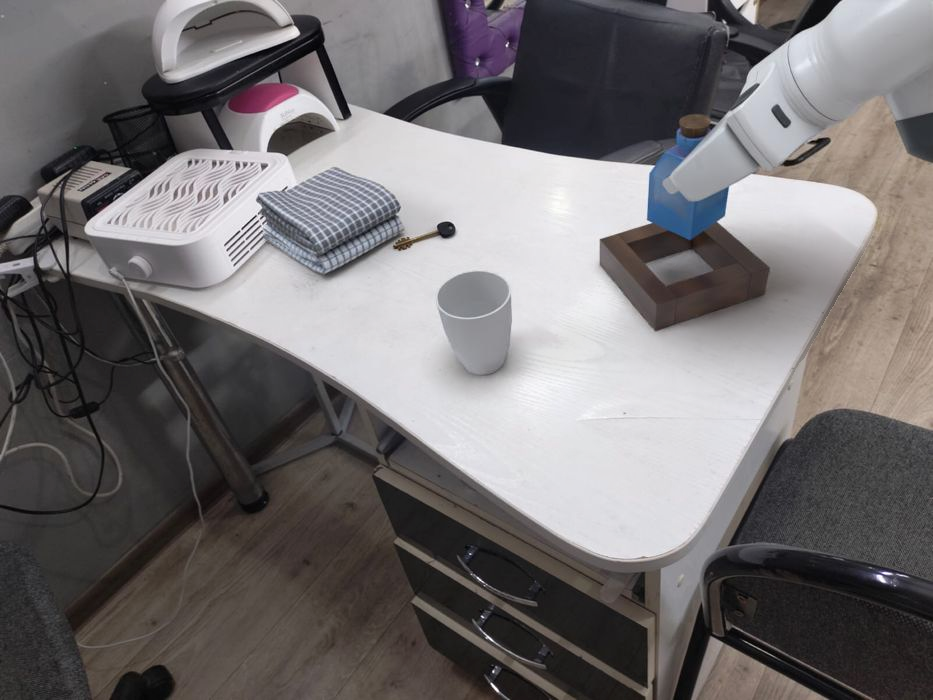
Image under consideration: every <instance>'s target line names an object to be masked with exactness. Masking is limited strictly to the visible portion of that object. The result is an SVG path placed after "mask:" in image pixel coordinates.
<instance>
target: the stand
mask: <svg viewBox="0 0 933 700" xmlns="http://www.w3.org/2000/svg"><path fill="white" fill-rule="evenodd" d="M689 249H692V250H693V251H694V252H695V253H696V254H697V255H698V256H699V257H700V258H701V259H702V260H703V261H705V262H706V264H708V265H709V266H710V267H711V268H712V269H713V270H711V271H708V272H705V273H702V274H700V275H697V276H693V277H690V278H687V279H684V280H680V281H677V282H675V283H671V284H667V285H665V284H664V283H663V282H662V281H661V279H660V278H659V277H658V276H657V275H656V274H655V273H654V272H653V271H652V270H651V269H650V267H649V266H648V265H647V264H646V263H648V262H651V261H655V260H659V259H661V258H664V257H667V256H670V255H674V254H677V253H680V252H683V251H687V250H689ZM599 265H600V267H601V268H602V269H603V270H604V271H605V273H606V274H607V275H608V276H609V277H610V279H611V280H612V281H613V282H614V284H616V286H617V287H618V288H619V290H620V291H621V292H622V293H623V295H624V296H625V297H626V298H627V299H628V300H629V302H630V303H631V304H632V305H633V307H634V308H635V310H637V311H638V312H639V314H640V315H641V316H642V318H643V319H644V320H645V321H646V323H648V325H649V326H650V327H651V328H652V330H653V331H656V332H657V331H659V330H661V329H664V328H668V327H671V326H674V325H677V324H680V323H683V322H685V321H688V320H691V319H695V318H699V317H701V316H704V315H707V314H710V313H713V312H716V311H719V310H722V309H725V308H728V307H732V306H734V305H737V304H740V303H743V302H746V301H749V300H752V299H755V298H758V297H761V296H764V295H765V294H766V290H767V284H768V280H769V275H770V271H771V267H770V266H769V265H767V263H765V262H764V261H763V260H762V259H761V258H759V257H758V256H757V255H756V254H755V253H753V251H752V250H750V249H749V248H748V247H747V246H746V245H745V244H744V243H742V242H741V241H740V240H739V239H738V238H736V236H734V235H733V234H732V233H731V232H730V231H729V230H727V229H726V228H725V227H724V226H723V225H722V224H721V223H719V222H718V221H717V222H716V223H714V224H713V225H711V226H710V227H708V228H707V229H705V230H704V231H703V232H701V233H700V234H698V235H697V236H695V237H694V238H692V239H691V240H689V239H686V238H684V237H682V236H680V235H678V234H676V233H673V232H671V231H669V230H667V229H665V228H663V227H660V226H658V225H656V224H654V223H652V222H650V223H647V224H644V225H641V226H638V227H637V226H636V227H635V228H631V229H627V230H625V231H622V232H618V233H614V234H611V235H608V236H605V237H602V238H599Z"/></svg>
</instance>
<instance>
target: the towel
mask: <svg viewBox="0 0 933 700" xmlns="http://www.w3.org/2000/svg"><path fill="white" fill-rule="evenodd" d="M255 201H256V203H257V204H259V205H260V206H261V208H260V210H259V211H258V213H259V214H260V215H261V216H263V217H264V218H265V222H266V223H265V225H264V226H263V227H262V230H263V232H262V235H263V236H262V238H263V239H264V240H265V241H266V242H267V243H270V244H271V245H272V246H273V247H276V248H277V249H279V250H280V251H281V252H283V253H284V254H285V255H287V256H289V258H291V259H293V260H294V261H297V262H298V263H299V264H301V265H302V266H305V267H306V268H308V269H310V270H311V271H313V272H314V273H317V274H321V275H326V274H328V273H330V272H332V271H334V270H336V269H338V268H341V267H342V266H344V265H346V264H348V263H349V262H352V261H354V260H355V259H356V258H358V257H360V256H362V255H363V254H365V253H367V252H368V251H370V250H373V249H374V248H375V247H378V246H379V245H381V244H383V243H384V242H386V241H389V240H391V239H392V238H394V237H396V236H397V235H398V234H401V233H402V232H404V231H405V227H404V225H403V222H402V218H401V216H400V215H398V213H399V212H400V211H401V208H402V206H401V204H400V202H399V201H398V200H397V198H396V196H395V194H393V193H392V192H391V191H390V190H389V189H387V188H386V187H385V186H384V185H382V184H380V183H378V182H376V181H373V180H370V179H367V178H365V177H361V176H357V175H356V174H355V175H354V174H352V173H350V172H348V171H345V170H343V169H341V168H340V167H337V166H333V167H330V168H329V169H327V170H323V172H320V173H317V174H316V175H314V176H312V177H310V178H308V179H306V180H305V181H302V182H300V183H299V184H298V185H295V186H293V187H292V188H289V189H287V190H272V191H266V192H259V193H258V195H257V197H256V198H255Z"/></svg>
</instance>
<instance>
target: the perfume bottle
mask: <svg viewBox="0 0 933 700" xmlns="http://www.w3.org/2000/svg"><path fill="white" fill-rule="evenodd" d="M678 122H679V123H678V124H679V128H678V129H677V131H676V139H675V140H676V145H674V146H673V147H671V148H669V149H667V150H666V151H665V152H664V153H663V154H662V155H661V157H660V158H659V160H658V161H657V162H656V163H655V165H654V167H652V169H651V170H650V172H649V174H648V194H647V210H646V211H647V212H646V221H647V222H650V223H654V224H656V225H658V226H660V227H663V228H665V229H667V230H669V231H671V232H673V233H676V234H678V235H680V236H682V237H684V238H686V239H689V240H691V239H692V238H694V237H695V236H697V235H698V234H700V233H701V232H703V231H704V230H705V229H707V228H708V227H710V226H711V225H713V224H714V223H716V222H718V221H720V220H721V219H723V218H724V217H725V216H726V211H727V203H728V197H729V190H730V186H729V187H727V188H725V189H723V190H721V191H719V192H717V193H715V194H713V195H711V196H709V197H707V198H705V199H703V200H700V201H696V202H690V201H688V200H686V199H685V197H684V196H683V195H682V194H681V193H680V191H678V192H676V193H675V194H670V193H669V192H668V191H667V190H666V189H665V187H664V186H663V181H664V180H665V179H666V178H667V177H668V176H669V175H670V174H671V173H672V172H673V171H674V170H675V169H676V168H677V167H678V166H679V165H680V164H681V162H682V161H683V160H684V159H685V158H686V157H687V156H688V155H689V154H690V153H691V152H692V151H693V150H694V148H695V147H696V146H697V145H698V144H699V143H700V142H701V141H702V140H703V139H704V138H705V137H706V135H707V134H708V133H709V132H710V131H711V130H712V129H711V128H710V125H711V123H712V120H711V118H710V117H709V116H707V115H704V114H698V113H694V114H688V115H685V116H682V117H681V118H680V119H679V121H678Z"/></svg>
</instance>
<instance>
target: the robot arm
mask: <svg viewBox="0 0 933 700" xmlns="http://www.w3.org/2000/svg"><path fill="white" fill-rule="evenodd" d="M881 96H882V97H883V100H884V101H885V103H886V105H887V106H888V109H889V111H890V112H891V114H892V116H893V118H894V120H895V121H894V124H895V126H896V129H897V131H898V133H899V136H900V139H901V142H902V143H903V146H904V148H905V151H906V153H907V154H908V155H910V156H912V157H914V158H916V159H919V160H921V161H924V162H928V163H930V164H933V0H840V1H839V2H838V3H837V4H836V5H835V6H834V7H833V9H832V10H831V11H830V12H829V13H828V14H827V15H826V17H825V18H824V19H822V20H821V21H820V22H818V23H817V24H815V25H813V26H812V27H809V28H807V29H804V30H801V31H800V32H799V33H797V34H795V35H793V37H791V38H790V39H789V40H787V41H786V42H784V44H782V45H781V46H779V47H778V48H776V49H775V50H774V51H772V52H771V53H770V54H769V55H767V56H766V57H764V58H763V59H762V60H761V61H760V62H758V63H757V64H755V65H754V66H753V67H751V69H749V72H748V74H747V76H746V81H745V84H744V86H743V87H742V89H741V91H740V94H739V96H738V98H737V99H736V101H735V102H734V104H733V105H732V106H731V108H730V109H729V110H728V111H727V112H726V114H724V116H723V117H722V118H721V119H720V120H719V121H718V122H717V123H716V124H715V125H714V126H713V128H712V129H710V130H711V131H710V132H709V133H708V134H707V135H706V137H705V138H704V139H703V140H702V141H701V142H700V143H699V144H698V145H697V146H696V147H695V148H694V150H693V151H692V152H691V153H690V154H689V155H688V156H687V157H686V158H685V159H684V160H683V161H682V162H681V164H680V165H679V166H678V167H677V168H676V169H675V170H674V171H673V172H672V173H671V174H670V175H669V176H668V177H667V178H666V179H665V180H664V181H663V186H664V187H665V189H666V190H667V191H668V192H669V193H670V194H675V193H676V192H678V191H680V193H681V194H682V195H683V196H684V197H685V199H686V200H688V201H690V202H696V201H700V200H703V199H705V198H707V197H709V196H711V195H713V194H715V193H717V192H719V191H721V190H723V189H725V188H727V187H729V188H730V187H731V186H733V185H734V184H737V183H739V182H740V181H743V180H744V179H746V178H747V177H749V176H751V175H752V174H754V173H755V172H757V171H758V170H759V169H760V168H761V169H762V170H764V172H769V171H772V170H774V169H775V168H777V167H779V166H780V165H782V164H783V163H784V162H786V160H788V159H789V158H791V156H793V155H794V154H795V153H796V152H797V151H798V150H800V148H801V147H803V146H805V145H806V144H808V143H810V142H811V141H813V140H815V139H817V138H818V137H820V136H822V135H823V134H824V133H825V132H827V131H829V130H831V129H832V128H834V127H835V126H836V127H837V125H839V124H841V123H843V122H844V121H846V120H847V119H849V118H850V117H852V116H853V115H854V114H856V113H857V112H858V111H859V110H860V108H861V107H862V106H864V105H865V104H866V103H868V102H869V101H871V100H873V99H875V98H877V97H881Z"/></svg>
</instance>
